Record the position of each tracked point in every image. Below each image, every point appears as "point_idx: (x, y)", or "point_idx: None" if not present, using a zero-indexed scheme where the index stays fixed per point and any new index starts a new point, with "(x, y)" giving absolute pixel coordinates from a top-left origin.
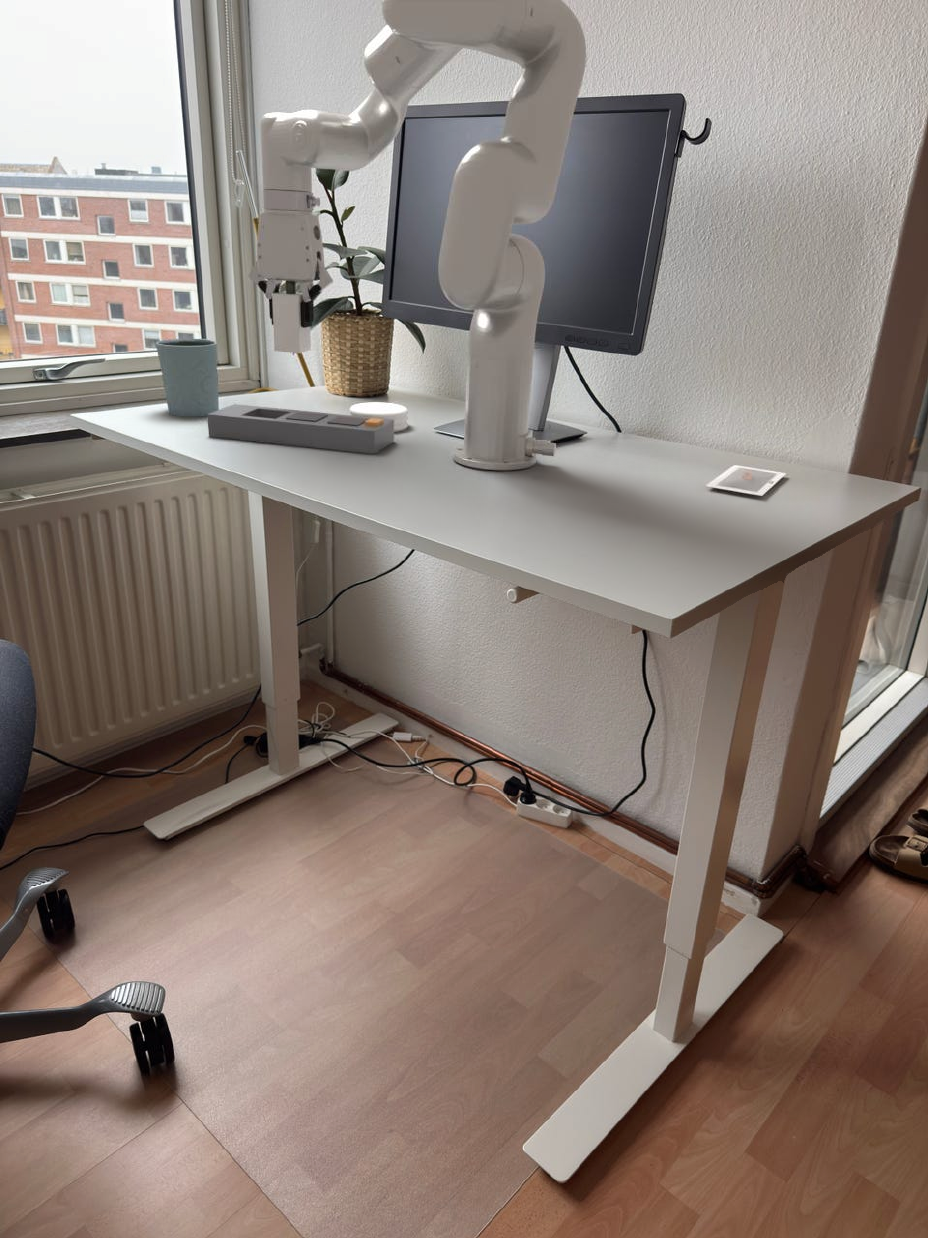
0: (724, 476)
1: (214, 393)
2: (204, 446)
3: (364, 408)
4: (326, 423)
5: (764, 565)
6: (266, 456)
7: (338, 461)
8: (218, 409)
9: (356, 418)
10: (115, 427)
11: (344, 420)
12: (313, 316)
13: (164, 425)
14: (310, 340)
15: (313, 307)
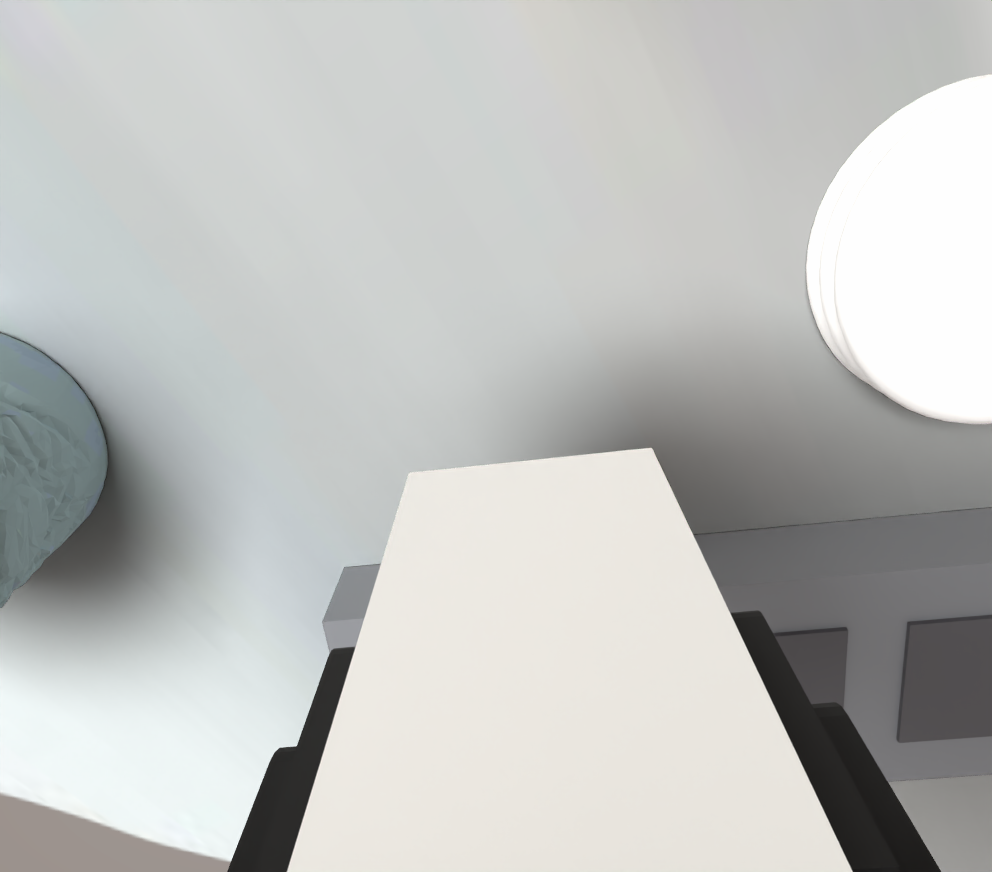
0: None
1: (46, 465)
2: None
3: (943, 317)
4: (894, 744)
5: None
6: None
7: (964, 816)
8: (73, 387)
9: None
10: (24, 788)
11: (963, 689)
12: (854, 737)
13: (125, 694)
14: (667, 482)
15: (915, 833)
